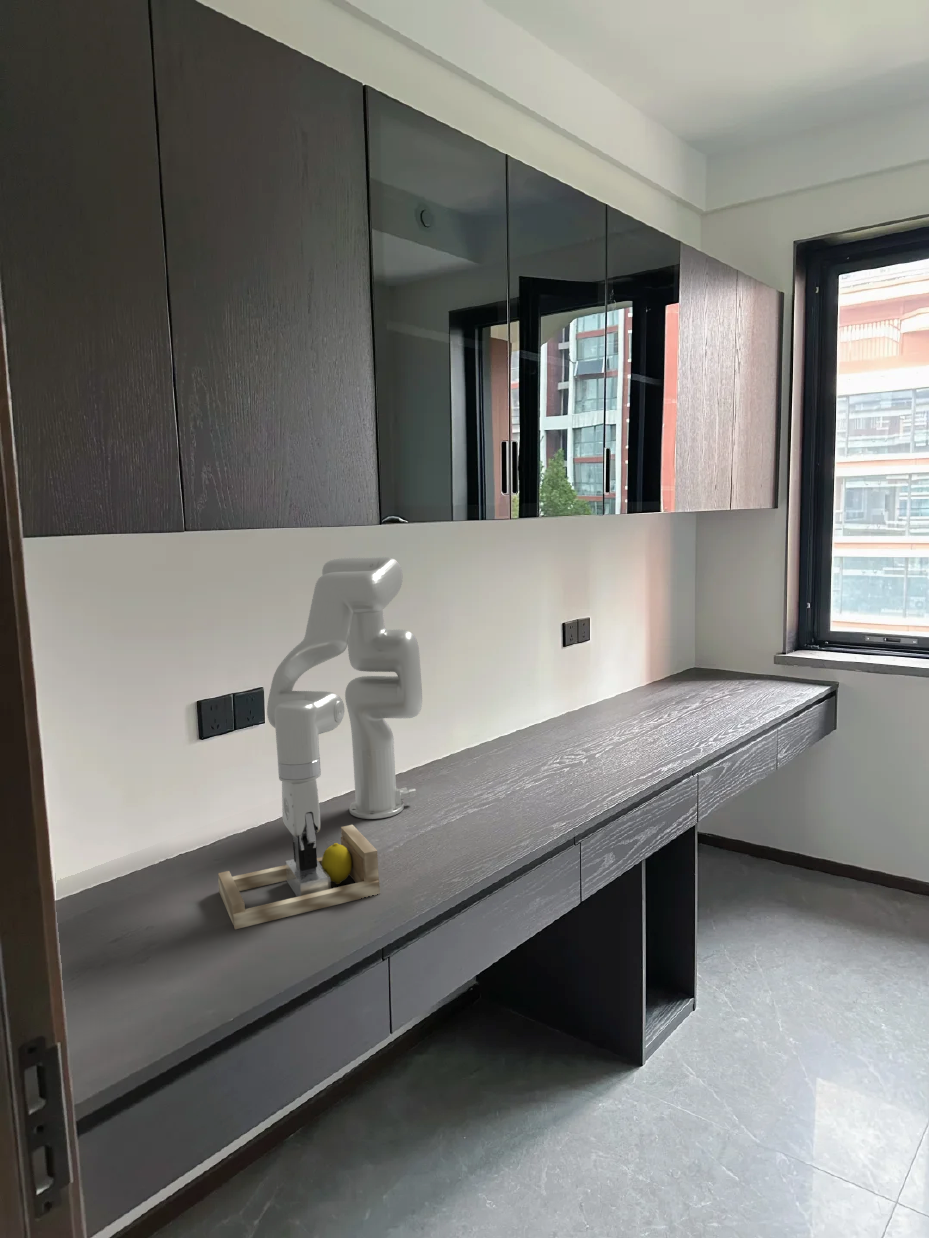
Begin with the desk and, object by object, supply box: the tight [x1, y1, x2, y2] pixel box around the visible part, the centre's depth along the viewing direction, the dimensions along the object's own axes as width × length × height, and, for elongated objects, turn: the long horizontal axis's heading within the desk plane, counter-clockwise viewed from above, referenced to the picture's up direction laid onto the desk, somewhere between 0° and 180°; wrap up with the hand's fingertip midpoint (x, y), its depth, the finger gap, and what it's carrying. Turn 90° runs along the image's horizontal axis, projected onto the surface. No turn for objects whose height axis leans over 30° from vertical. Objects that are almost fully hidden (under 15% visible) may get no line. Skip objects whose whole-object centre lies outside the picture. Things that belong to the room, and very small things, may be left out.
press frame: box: [217, 824, 381, 930], centre depth 155 cm, size 26×16×8 cm, turn 115°
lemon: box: [322, 842, 352, 885], centre depth 158 cm, size 6×6×8 cm
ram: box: [285, 829, 332, 897], centre depth 156 cm, size 6×11×12 cm, turn 25°
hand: (305, 863), depth 156 cm, fingers closed on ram, 3 cm apart
